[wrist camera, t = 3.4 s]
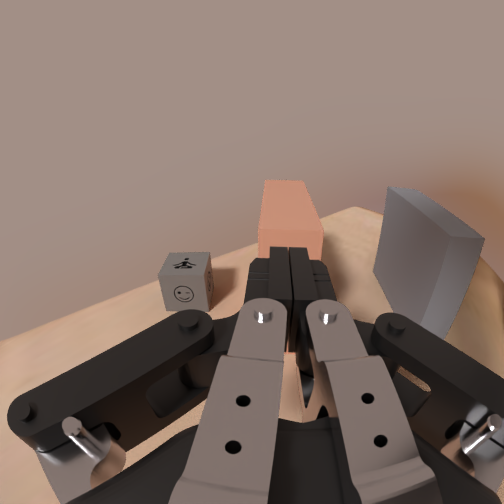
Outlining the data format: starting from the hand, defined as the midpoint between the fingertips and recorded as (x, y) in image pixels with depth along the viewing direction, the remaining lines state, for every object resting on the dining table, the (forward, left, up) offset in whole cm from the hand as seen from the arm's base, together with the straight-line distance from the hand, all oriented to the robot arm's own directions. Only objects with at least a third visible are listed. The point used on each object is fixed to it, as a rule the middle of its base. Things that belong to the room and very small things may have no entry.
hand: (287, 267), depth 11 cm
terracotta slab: (-4, -14, -14) cm, 21 cm away
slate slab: (-19, -10, -14) cm, 26 cm away
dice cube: (+6, -18, -14) cm, 23 cm away
